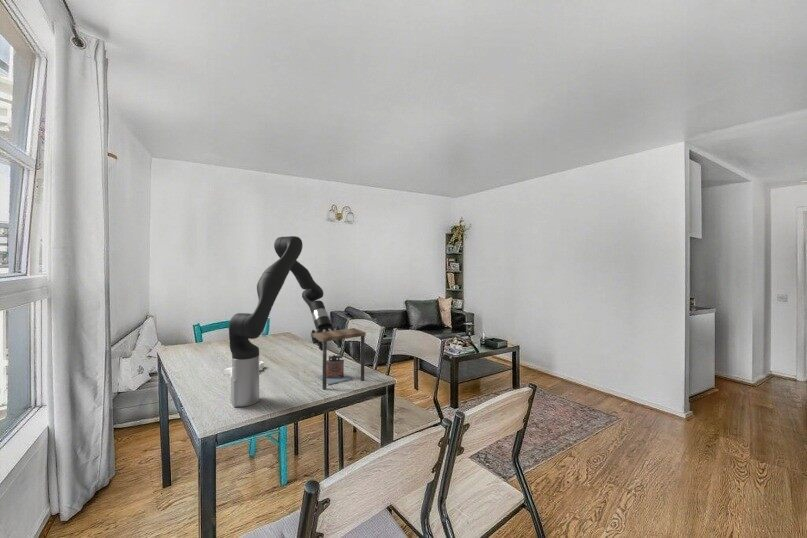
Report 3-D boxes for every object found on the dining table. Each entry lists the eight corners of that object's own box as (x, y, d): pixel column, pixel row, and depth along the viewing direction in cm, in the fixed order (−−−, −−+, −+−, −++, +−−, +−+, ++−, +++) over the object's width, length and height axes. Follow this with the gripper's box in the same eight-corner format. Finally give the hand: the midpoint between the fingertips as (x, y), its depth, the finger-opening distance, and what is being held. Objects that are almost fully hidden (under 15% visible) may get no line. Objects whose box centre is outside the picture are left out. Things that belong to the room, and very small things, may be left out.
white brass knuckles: (246, 365, 170) (270, 369, 166) (217, 377, 153) (242, 381, 148) (246, 359, 170) (270, 362, 165) (217, 370, 153) (242, 373, 148)
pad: (328, 385, 144) (328, 384, 144) (317, 377, 153) (317, 376, 153) (353, 379, 151) (353, 378, 151) (341, 372, 160) (341, 371, 160)
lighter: (325, 379, 149) (325, 356, 149) (325, 376, 153) (325, 354, 153) (344, 377, 151) (344, 355, 151) (343, 375, 155) (343, 353, 154)
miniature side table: (322, 390, 138) (323, 338, 137) (312, 382, 147) (312, 333, 146) (365, 380, 150) (365, 332, 149) (353, 373, 159) (353, 328, 158)
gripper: (309, 316, 158) (318, 346, 149) (337, 314, 166) (347, 341, 157) (305, 326, 162) (314, 355, 153) (332, 323, 170) (342, 350, 161)
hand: (331, 348), depth 155 cm, fingers open, 8 cm apart
